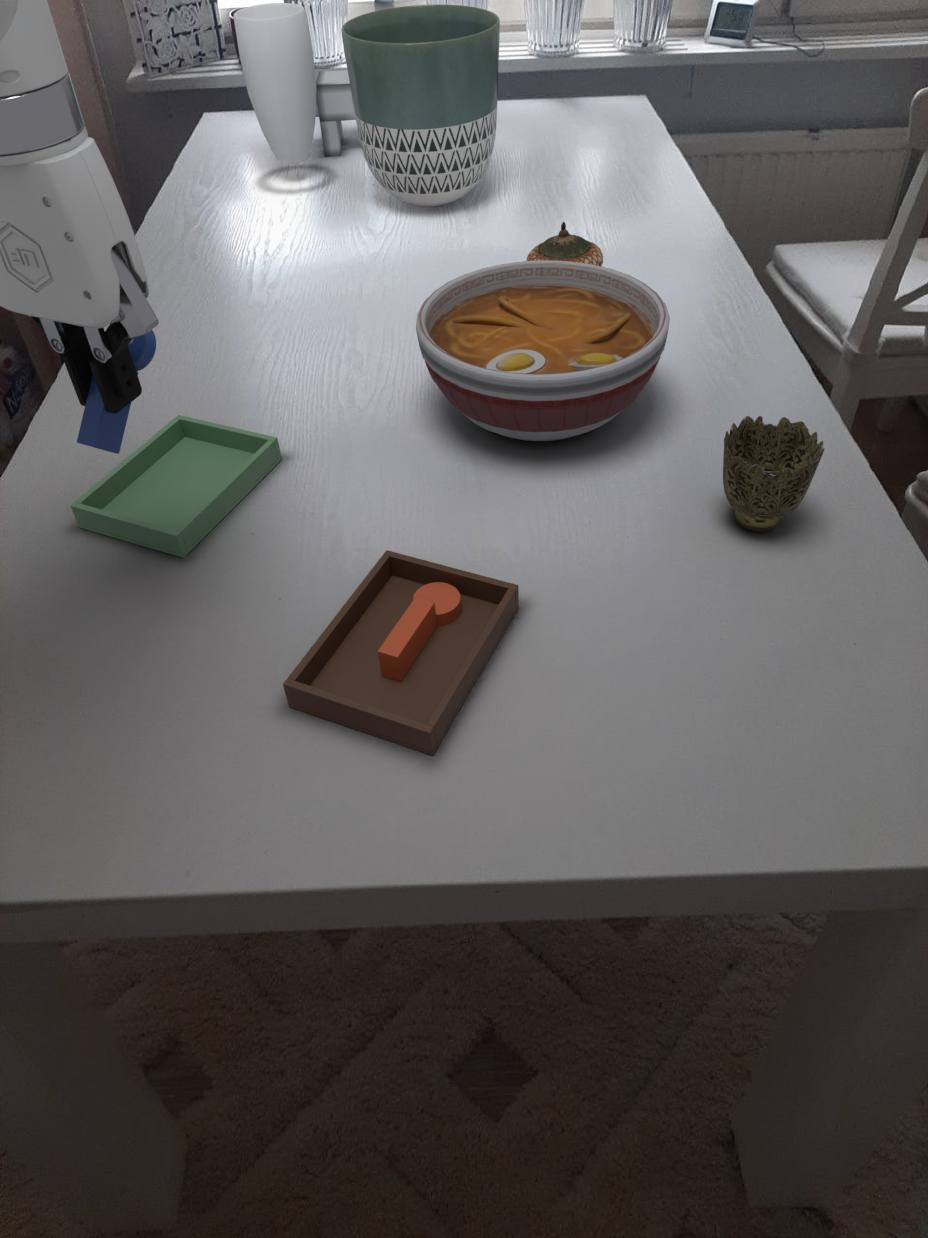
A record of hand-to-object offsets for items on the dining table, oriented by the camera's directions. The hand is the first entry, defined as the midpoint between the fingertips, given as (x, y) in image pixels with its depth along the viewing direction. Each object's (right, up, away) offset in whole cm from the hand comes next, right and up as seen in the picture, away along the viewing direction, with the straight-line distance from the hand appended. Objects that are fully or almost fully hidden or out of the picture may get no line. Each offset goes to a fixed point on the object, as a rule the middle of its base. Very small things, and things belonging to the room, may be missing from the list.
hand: (112, 398), depth 66 cm
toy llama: (+9, +60, +83) cm, 103 cm away
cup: (0, +50, +74) cm, 89 cm away
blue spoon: (+1, +1, +1) cm, 1 cm away
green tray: (0, -4, +18) cm, 19 cm away
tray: (+21, -18, +2) cm, 28 cm away
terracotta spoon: (+22, -17, +3) cm, 28 cm away
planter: (+20, +44, +66) cm, 82 cm away
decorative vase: (+49, -8, +12) cm, 51 cm away
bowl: (+32, +5, +25) cm, 41 cm away
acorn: (+36, +19, +40) cm, 57 cm away
